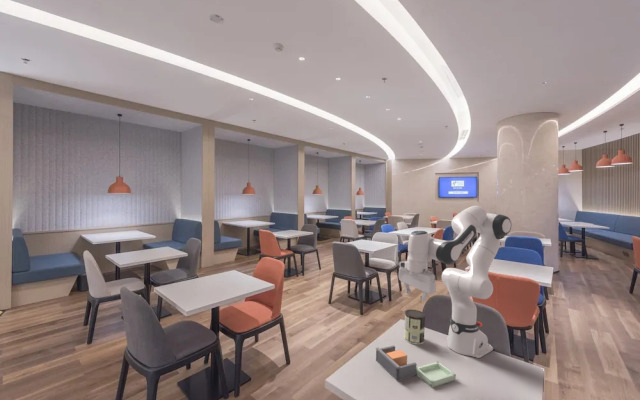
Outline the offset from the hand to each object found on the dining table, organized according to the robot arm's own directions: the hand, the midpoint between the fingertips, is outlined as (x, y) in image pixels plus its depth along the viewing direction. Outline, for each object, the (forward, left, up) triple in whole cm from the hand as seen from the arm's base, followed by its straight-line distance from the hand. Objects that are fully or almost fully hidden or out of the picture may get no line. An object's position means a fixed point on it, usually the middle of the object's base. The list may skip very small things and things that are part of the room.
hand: (415, 296), depth 126 cm
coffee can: (-15, -16, -31) cm, 38 cm away
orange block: (+9, 0, -31) cm, 32 cm away
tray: (-2, +11, -30) cm, 32 cm away
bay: (+10, 0, -30) cm, 32 cm away
